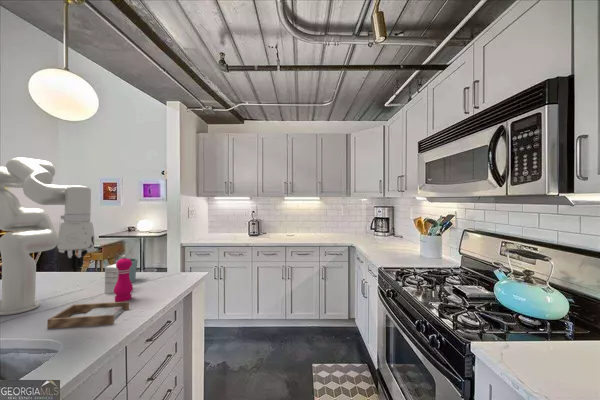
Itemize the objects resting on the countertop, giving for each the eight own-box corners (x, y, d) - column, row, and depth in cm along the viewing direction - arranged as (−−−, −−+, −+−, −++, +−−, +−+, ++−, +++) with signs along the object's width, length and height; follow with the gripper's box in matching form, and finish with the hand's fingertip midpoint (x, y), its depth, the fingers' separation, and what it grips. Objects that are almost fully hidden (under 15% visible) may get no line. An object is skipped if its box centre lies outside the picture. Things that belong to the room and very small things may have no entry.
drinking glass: (121, 279, 150) (122, 258, 151) (140, 279, 151) (141, 257, 152) (111, 284, 140) (111, 262, 140) (131, 284, 141) (132, 261, 142)
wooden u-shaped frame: (47, 328, 91) (47, 319, 91) (73, 312, 105) (73, 304, 105) (112, 324, 96) (112, 315, 96) (129, 308, 109) (129, 301, 109)
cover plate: (80, 324, 96) (80, 317, 96) (94, 314, 104) (94, 308, 104) (111, 322, 98) (111, 315, 98) (122, 312, 106) (122, 306, 106)
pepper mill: (123, 303, 115) (124, 256, 116) (109, 301, 117) (110, 256, 117) (136, 297, 122) (137, 253, 123) (123, 296, 124) (124, 253, 124)
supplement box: (115, 288, 134) (115, 263, 135) (129, 288, 134) (129, 263, 134) (103, 293, 127) (104, 266, 127) (118, 293, 127) (119, 267, 127)
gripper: (46, 219, 94) (45, 271, 94) (95, 219, 98) (94, 269, 97) (60, 218, 102) (59, 266, 102) (105, 218, 105) (104, 264, 105)
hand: (76, 267), depth 99 cm, fingers closed
